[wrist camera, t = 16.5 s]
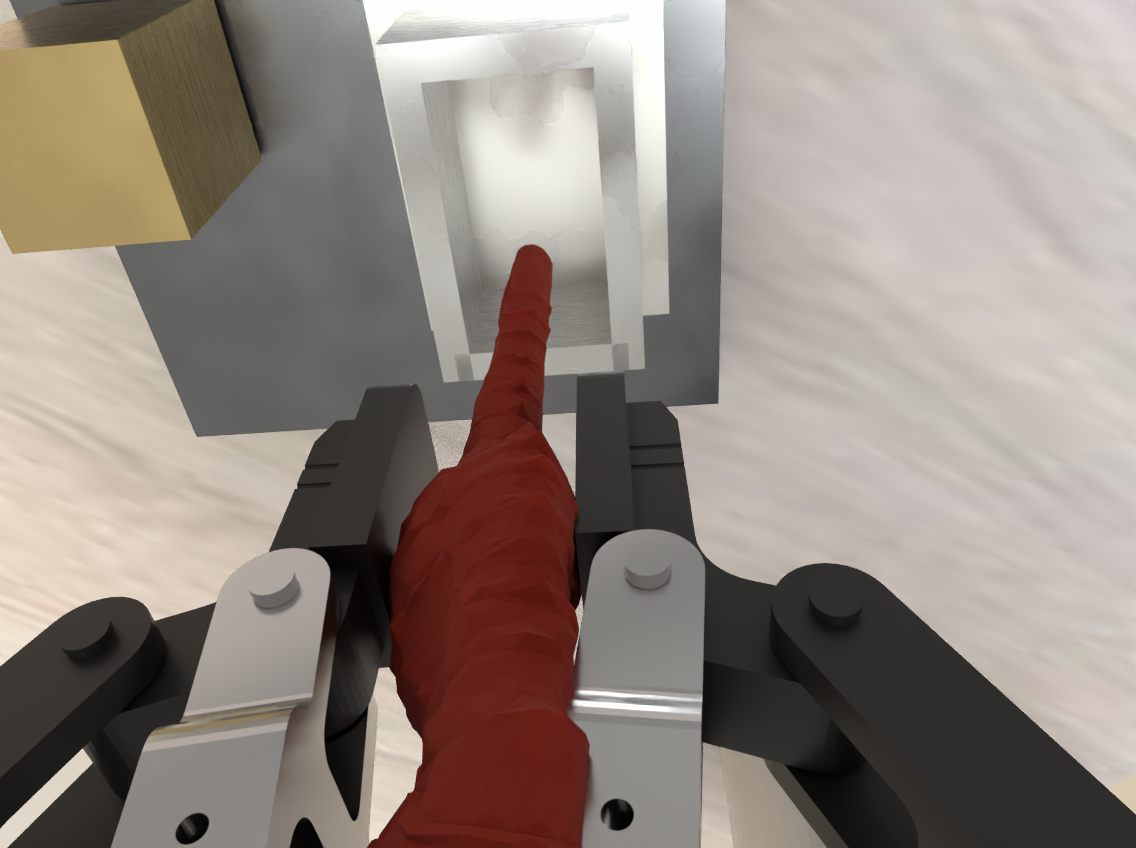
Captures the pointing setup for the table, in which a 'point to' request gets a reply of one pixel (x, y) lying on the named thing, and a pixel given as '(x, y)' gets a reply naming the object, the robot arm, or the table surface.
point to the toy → (493, 614)
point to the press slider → (118, 124)
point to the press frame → (450, 206)
